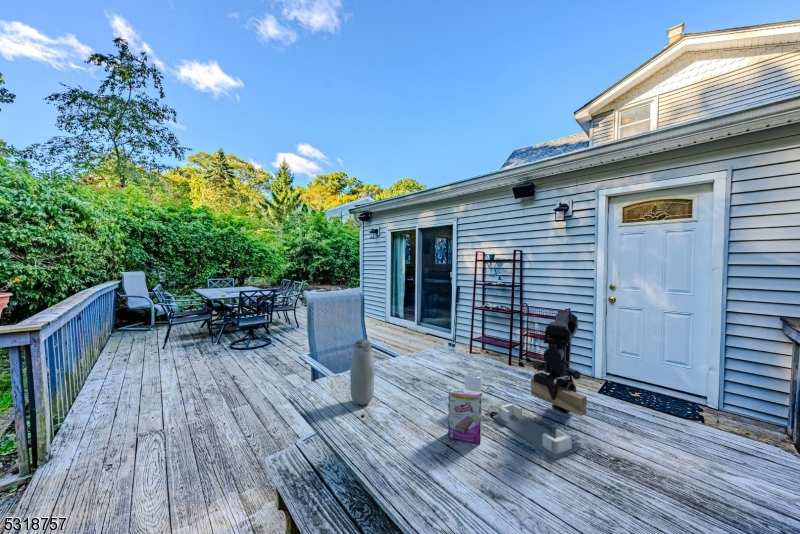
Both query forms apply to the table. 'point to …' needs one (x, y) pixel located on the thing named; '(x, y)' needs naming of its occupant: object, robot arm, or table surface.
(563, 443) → the end cap frame
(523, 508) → the table surface
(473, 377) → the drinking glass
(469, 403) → the candy bar box
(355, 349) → the grey bottle
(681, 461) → the table surface
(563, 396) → the wooden block
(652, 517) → the table surface
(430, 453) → the table surface
